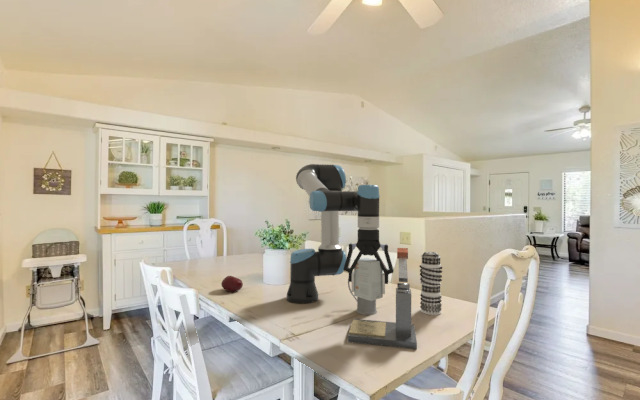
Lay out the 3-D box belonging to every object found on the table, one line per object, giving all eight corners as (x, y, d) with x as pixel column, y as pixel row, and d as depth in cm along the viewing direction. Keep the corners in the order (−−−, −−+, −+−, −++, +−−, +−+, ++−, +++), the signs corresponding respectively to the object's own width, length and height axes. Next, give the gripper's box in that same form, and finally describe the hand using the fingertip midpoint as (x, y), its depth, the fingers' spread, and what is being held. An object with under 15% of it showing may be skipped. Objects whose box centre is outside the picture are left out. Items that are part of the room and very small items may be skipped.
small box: (383, 297, 112) (383, 260, 112) (370, 301, 108) (370, 262, 108) (365, 292, 119) (365, 257, 119) (353, 295, 115) (353, 259, 115)
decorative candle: (439, 316, 131) (440, 255, 131) (416, 312, 136) (417, 253, 136) (444, 310, 139) (444, 252, 139) (422, 306, 144) (422, 250, 144)
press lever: (397, 290, 111) (397, 282, 109) (397, 255, 130) (397, 247, 129) (409, 291, 110) (409, 283, 108) (407, 255, 129) (407, 248, 128)
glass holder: (369, 316, 131) (369, 279, 131) (342, 308, 141) (342, 274, 141) (380, 311, 137) (381, 275, 138) (354, 303, 147) (354, 271, 147)
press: (347, 342, 107) (347, 293, 107) (353, 324, 123) (354, 282, 123) (416, 349, 102) (416, 298, 102) (414, 329, 118) (414, 285, 118)
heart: (226, 293, 159) (243, 293, 166) (227, 278, 160) (245, 277, 167) (215, 289, 168) (233, 288, 175) (217, 274, 169) (234, 274, 176)
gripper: (334, 228, 113) (334, 292, 112) (401, 230, 107) (401, 297, 107) (338, 227, 120) (338, 287, 120) (401, 228, 115) (401, 291, 115)
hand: (368, 292), depth 114 cm, fingers closed on small box, 10 cm apart
